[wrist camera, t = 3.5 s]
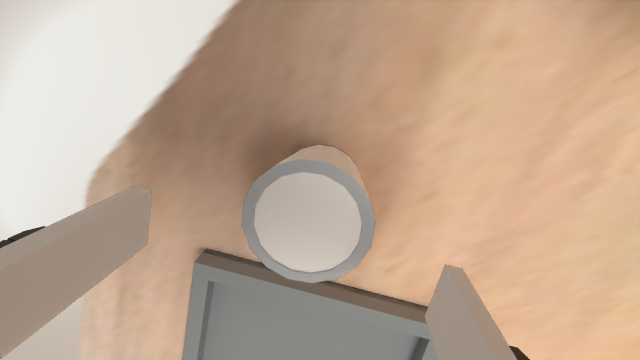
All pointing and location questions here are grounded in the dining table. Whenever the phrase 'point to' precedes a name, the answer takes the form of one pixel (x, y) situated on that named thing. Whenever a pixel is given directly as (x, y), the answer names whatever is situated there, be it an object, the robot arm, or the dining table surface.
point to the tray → (295, 318)
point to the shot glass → (310, 216)
